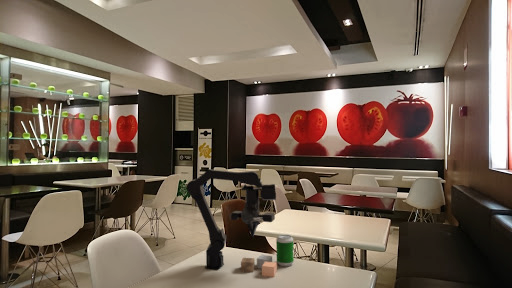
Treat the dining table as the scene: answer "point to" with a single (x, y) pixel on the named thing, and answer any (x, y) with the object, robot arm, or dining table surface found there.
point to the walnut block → (247, 265)
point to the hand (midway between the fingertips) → (252, 236)
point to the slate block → (263, 260)
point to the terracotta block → (269, 269)
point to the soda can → (285, 250)
